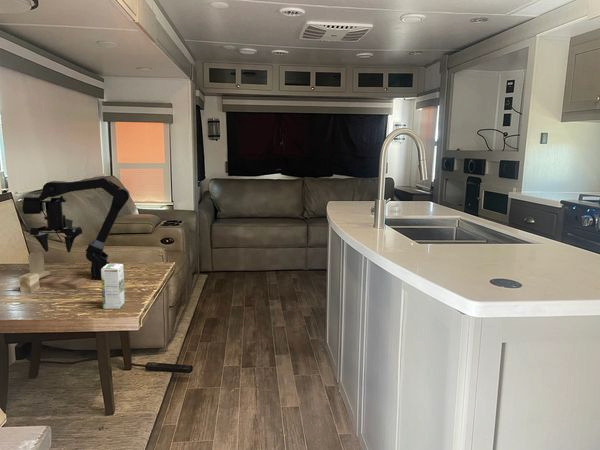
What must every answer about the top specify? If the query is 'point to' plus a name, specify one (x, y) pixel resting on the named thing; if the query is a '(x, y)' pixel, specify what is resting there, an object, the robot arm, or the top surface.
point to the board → (61, 282)
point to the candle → (36, 262)
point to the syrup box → (113, 286)
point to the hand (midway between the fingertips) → (57, 251)
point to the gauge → (31, 281)
